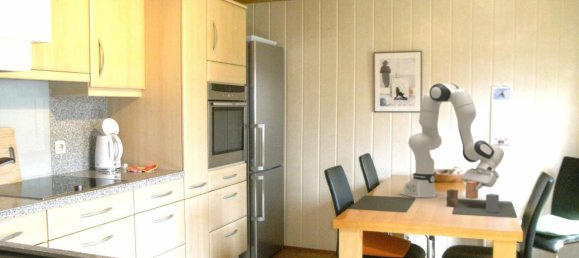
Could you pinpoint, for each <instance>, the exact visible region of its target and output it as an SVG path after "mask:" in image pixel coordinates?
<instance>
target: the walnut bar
mask: <svg viewBox="0 0 579 258" xmlns="http://www.w3.org/2000/svg"><path fill="white" fill-rule="evenodd" d="M458 193H459V190H458V189H453V188H449V189H447V190H446V207H451V208H456V207H458V204H459V203H458V199H459V198H458V196H459V195H458Z"/></svg>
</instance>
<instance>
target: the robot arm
mask: <svg viewBox="0 0 579 258" xmlns="http://www.w3.org/2000/svg"><path fill="white" fill-rule="evenodd" d="M448 102H450V103H451V104H452V106H453V110H454V113H455V115H456V121H457V127H458V131H459V136H460V140H461V144H462V155H463V158H464V160H465V161H467V162H468V163H476V162H477V161H479V163H478V164H477V166H476V167H475V168H469V169H467V170H466V171H465V172H464V174H462V176H461V180H462V182H464V183H466V181H474V182H478V186H477V187H475V188H474V190H475V191H478V192H479V190H480V189H482V188H483V187H487V188H492V187H494V186H495V184H496V183H497V181H498V179H499V178H500V175H499V173H498V172H497V169H496V168H497V167H498V166H499V165H500V164H501V162H502V160H503V158H504V155H505V152H504V149H502V147H500V146H499V145H497V144H496V145H493V144H490V143H489V142H488V141H485V140H477V141H476V142H474V139H473V136H472V131H471V128H472V124H473V122H474V120H475V119H476V116H477V111H476V107H475V103H474V101H473V99H472V96H471V95H470V93H469V92H468V90H467V89H465V88H463V87H462V88H459V86H457V84H454V83H450V82H441V83H439V82H438V83H436V84H434V85H432V86H431V87H430V89H429V92H426V93H425V94H424V95H423V98H422V101H421V105H420V110H419V118H418V123H419V125H420V127H421V132H419V133H415V134H413V135H411V136H410V137H409V138H408V142H407V143H408V147H409V148H410V149H411V151H412V152H413V155H414V159H415V172H414V173H412V175H411V176H413V178H411V179H410V180H409V181H407V182H406V183H405V184H404V189H403V190H402V191H400V193H399V194H401V195H405V196H409V197H410V198H411V197H412V198H425V199H426V198H427V199H428V198H430V199H431V198H436V197H437V191H436V187H435V179H436V173H435V160H434V159H433V158H432V155H431V151H432V150H433V151H434V150H436V149H437V148H438V149H439V148H440V147H441V145H442V143H443V141H442V137H441V135H440V133H439V129H438V128H439V127H438V126H439V125H438V122H439V116H440V115H439V114H440V109H441V108H440V107H441V104H442V103H448Z"/></svg>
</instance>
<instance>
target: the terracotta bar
mask: <svg viewBox="0 0 579 258" xmlns="http://www.w3.org/2000/svg"><path fill="white" fill-rule="evenodd" d="M477 186H478V182H474V181H466V182H465V198H466V199H469V200H474V199H475V200H476V199H478V198H479V190H478V191H475V190H474V188H475V187H477Z"/></svg>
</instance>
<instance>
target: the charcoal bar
mask: <svg viewBox="0 0 579 258" xmlns="http://www.w3.org/2000/svg"><path fill="white" fill-rule="evenodd" d="M499 197H500V195H499V194H496V193H495V194H494V193H487V194H485V198H486V199H485V200H486V201H485V212H486V213H492V214H496V213H499V203H500V202H499V199H500V198H499Z"/></svg>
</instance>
